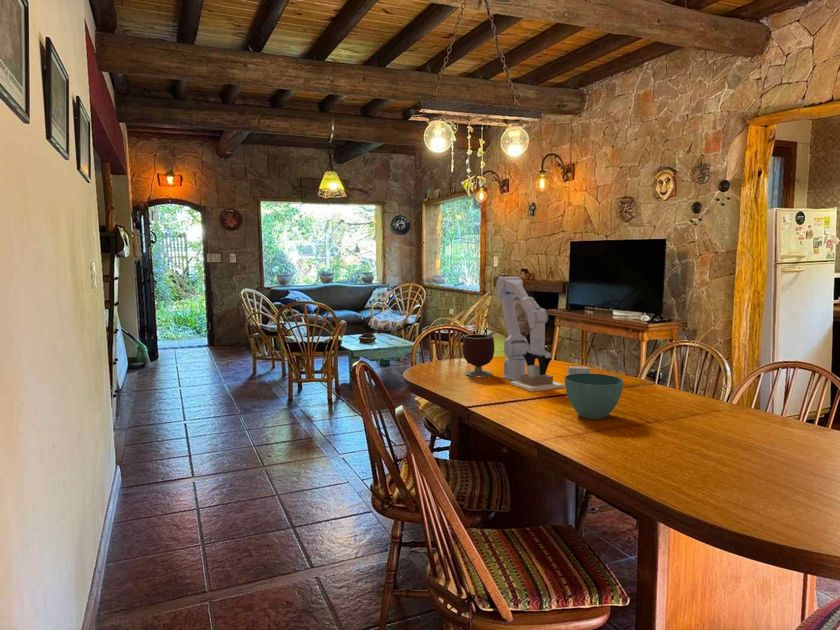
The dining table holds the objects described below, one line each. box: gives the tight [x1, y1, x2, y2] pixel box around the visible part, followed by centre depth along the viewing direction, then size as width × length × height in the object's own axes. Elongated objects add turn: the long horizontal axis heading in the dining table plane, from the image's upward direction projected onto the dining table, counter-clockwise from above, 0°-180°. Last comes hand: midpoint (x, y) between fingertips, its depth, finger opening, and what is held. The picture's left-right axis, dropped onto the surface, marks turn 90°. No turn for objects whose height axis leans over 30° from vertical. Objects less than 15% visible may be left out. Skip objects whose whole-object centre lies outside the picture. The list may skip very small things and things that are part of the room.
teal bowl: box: [564, 372, 625, 420], centre depth 184 cm, size 18×18×12 cm
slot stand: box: [509, 373, 565, 392], centre depth 229 cm, size 14×16×4 cm
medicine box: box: [567, 366, 591, 375], centre depth 223 cm, size 8×4×9 cm, turn 84°
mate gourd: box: [462, 330, 499, 378], centre depth 252 cm, size 16×14×20 cm
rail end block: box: [526, 364, 546, 378], centre depth 229 cm, size 4×6×7 cm, turn 116°
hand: (536, 373), depth 229 cm, fingers open, 7 cm apart
